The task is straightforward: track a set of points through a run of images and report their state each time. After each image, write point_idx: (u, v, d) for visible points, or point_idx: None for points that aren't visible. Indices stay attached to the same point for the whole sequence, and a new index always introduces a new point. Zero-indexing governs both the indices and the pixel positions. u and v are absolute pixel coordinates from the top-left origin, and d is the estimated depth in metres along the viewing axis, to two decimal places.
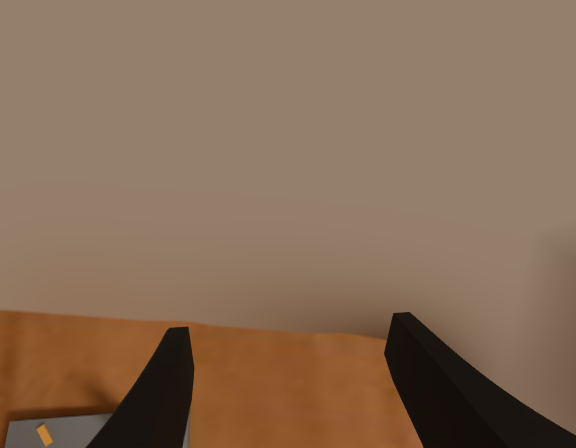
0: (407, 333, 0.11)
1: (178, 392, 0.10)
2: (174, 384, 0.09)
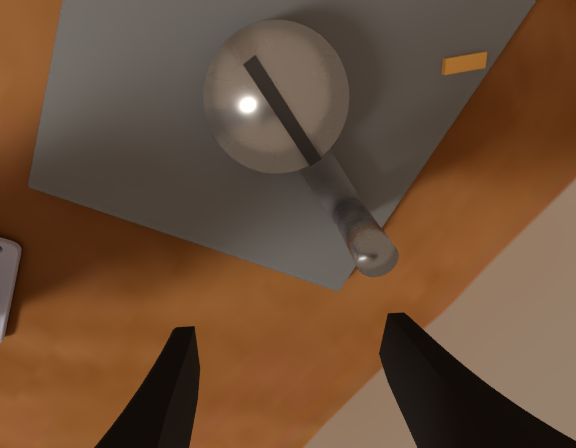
0: (401, 333, 0.11)
1: (185, 391, 0.10)
2: (182, 383, 0.09)
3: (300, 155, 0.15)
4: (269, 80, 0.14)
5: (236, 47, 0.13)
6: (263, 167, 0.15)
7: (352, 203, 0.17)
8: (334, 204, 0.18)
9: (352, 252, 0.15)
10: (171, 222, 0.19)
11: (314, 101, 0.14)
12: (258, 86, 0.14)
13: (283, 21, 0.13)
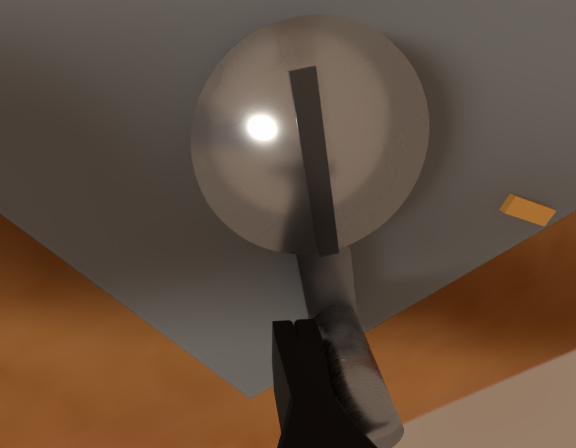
0: (275, 343, 0.11)
1: None
2: None
3: (311, 236, 0.10)
4: (318, 114, 0.08)
5: (290, 39, 0.07)
6: (250, 233, 0.10)
7: (346, 315, 0.12)
8: (321, 305, 0.12)
9: None
10: (54, 230, 0.11)
11: (366, 171, 0.09)
12: (296, 115, 0.08)
13: (380, 35, 0.08)
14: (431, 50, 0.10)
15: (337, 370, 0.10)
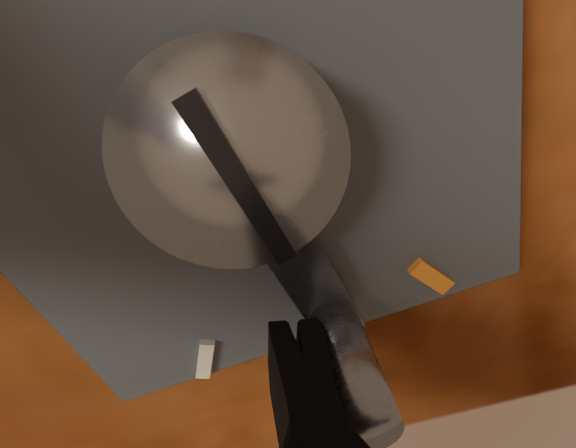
0: (271, 343, 0.11)
1: None
2: None
3: (264, 246, 0.10)
4: (220, 131, 0.08)
5: (162, 71, 0.07)
6: (204, 259, 0.10)
7: (338, 309, 0.12)
8: (312, 305, 0.12)
9: None
10: None
11: (293, 170, 0.09)
12: (199, 139, 0.08)
13: (248, 36, 0.07)
14: (374, 106, 0.10)
15: None
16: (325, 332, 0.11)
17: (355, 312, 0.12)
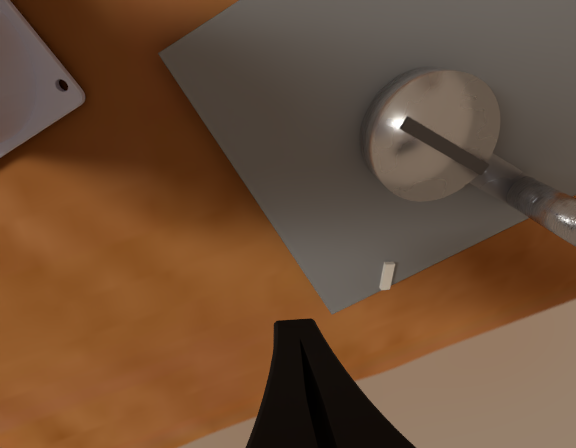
0: (299, 341, 0.11)
1: None
2: None
3: (467, 170, 0.17)
4: (424, 128, 0.15)
5: (390, 118, 0.15)
6: (438, 195, 0.17)
7: (524, 183, 0.18)
8: (504, 190, 0.19)
9: (557, 232, 0.16)
10: (255, 174, 0.18)
11: (467, 123, 0.16)
12: (416, 137, 0.16)
13: (422, 79, 0.14)
14: (497, 92, 0.17)
15: (543, 214, 0.17)
16: (525, 199, 0.18)
17: (536, 180, 0.18)
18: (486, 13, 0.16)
